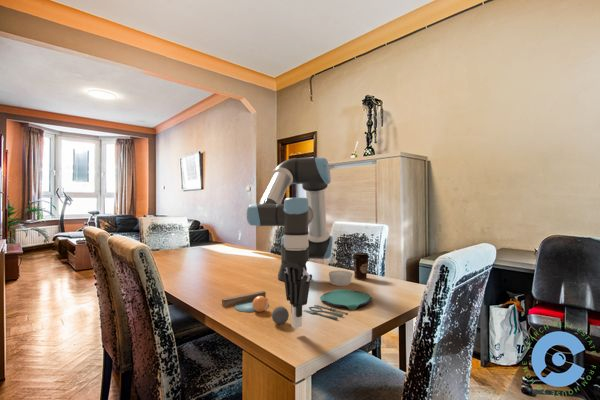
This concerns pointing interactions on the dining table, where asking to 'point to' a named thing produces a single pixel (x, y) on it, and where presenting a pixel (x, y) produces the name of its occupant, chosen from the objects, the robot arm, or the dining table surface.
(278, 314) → the gray ball
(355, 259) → the coffee cup
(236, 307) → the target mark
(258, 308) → the orange ball
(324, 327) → the dining table surface
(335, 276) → the ramekin
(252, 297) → the stopper strip
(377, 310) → the dining table surface
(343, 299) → the cutlery set
